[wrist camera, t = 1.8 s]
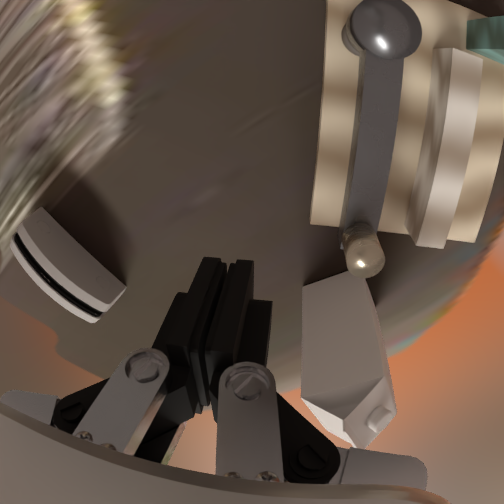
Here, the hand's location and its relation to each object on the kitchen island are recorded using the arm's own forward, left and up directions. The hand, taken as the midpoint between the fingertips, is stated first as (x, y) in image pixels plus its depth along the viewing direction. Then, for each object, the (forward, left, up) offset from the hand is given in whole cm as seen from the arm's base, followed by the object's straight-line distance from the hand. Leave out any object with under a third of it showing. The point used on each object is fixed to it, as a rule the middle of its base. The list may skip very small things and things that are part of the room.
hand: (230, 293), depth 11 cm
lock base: (-5, +14, -21) cm, 26 cm away
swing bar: (-4, +7, -14) cm, 16 cm away
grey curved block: (+14, -25, -21) cm, 35 cm away
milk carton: (+17, +9, -21) cm, 28 cm away
